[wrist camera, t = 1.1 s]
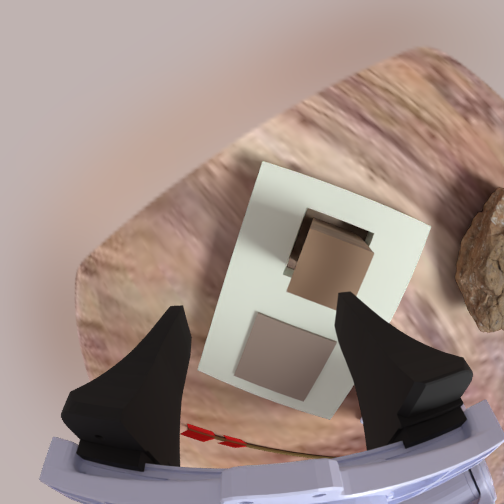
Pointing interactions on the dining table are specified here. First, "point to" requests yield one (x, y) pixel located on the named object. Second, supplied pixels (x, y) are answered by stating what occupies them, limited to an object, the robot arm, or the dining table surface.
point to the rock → (484, 265)
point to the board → (294, 307)
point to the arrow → (236, 442)
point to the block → (330, 264)
